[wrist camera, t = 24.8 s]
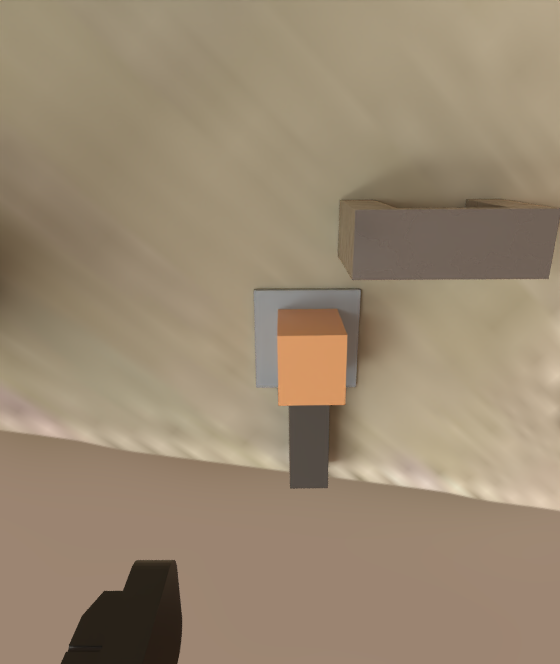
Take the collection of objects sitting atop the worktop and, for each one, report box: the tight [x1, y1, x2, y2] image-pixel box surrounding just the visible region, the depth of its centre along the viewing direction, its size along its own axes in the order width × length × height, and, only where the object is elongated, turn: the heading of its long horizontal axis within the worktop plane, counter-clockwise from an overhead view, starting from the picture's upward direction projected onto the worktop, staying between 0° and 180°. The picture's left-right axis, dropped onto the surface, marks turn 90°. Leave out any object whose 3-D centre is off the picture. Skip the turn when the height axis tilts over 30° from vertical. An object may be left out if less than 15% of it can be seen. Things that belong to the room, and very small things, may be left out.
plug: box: [277, 309, 347, 488], centre depth 36 cm, size 4×14×6 cm, turn 1°
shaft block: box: [338, 199, 560, 280], centre depth 31 cm, size 12×4×8 cm, turn 90°
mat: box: [254, 289, 361, 387], centre depth 37 cm, size 8×8×1 cm
